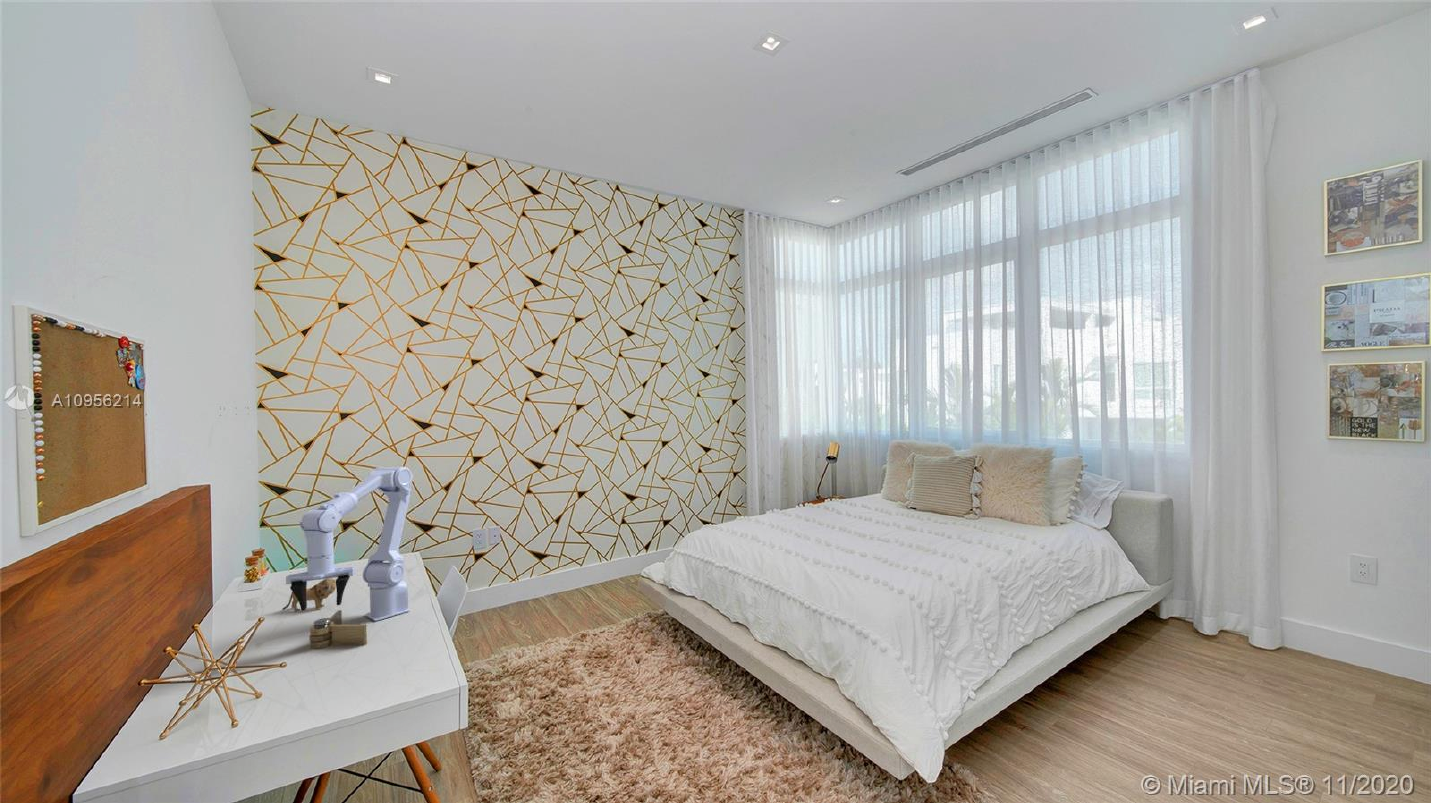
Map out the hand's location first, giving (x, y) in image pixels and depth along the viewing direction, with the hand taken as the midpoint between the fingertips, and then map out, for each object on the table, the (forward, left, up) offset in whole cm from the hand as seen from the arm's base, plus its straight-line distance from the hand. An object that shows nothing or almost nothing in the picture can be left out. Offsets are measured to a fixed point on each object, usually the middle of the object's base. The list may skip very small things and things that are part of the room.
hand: (321, 606), depth 142 cm
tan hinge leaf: (-3, +4, -10) cm, 11 cm away
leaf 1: (-3, -4, -10) cm, 11 cm away
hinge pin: (0, 0, -10) cm, 10 cm away
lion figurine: (-6, -34, -10) cm, 36 cm away
